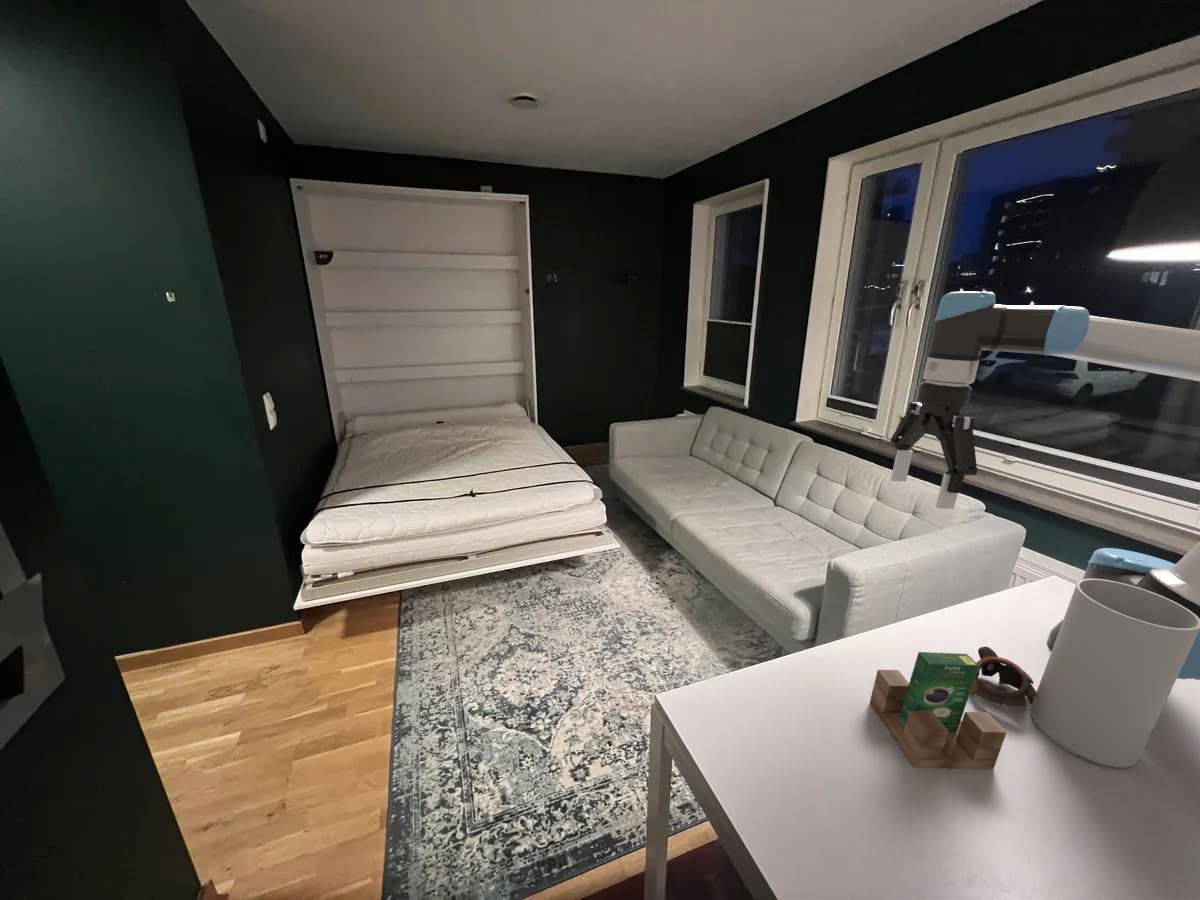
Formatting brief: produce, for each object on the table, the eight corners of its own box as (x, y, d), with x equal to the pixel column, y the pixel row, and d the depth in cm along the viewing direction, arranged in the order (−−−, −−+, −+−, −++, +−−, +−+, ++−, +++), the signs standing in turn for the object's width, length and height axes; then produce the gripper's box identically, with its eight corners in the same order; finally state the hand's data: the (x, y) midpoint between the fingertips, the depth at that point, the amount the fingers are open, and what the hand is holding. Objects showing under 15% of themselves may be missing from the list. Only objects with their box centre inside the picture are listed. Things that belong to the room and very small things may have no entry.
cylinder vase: (1135, 787, 68) (1205, 643, 61) (1023, 731, 77) (1072, 598, 70) (1136, 738, 76) (1198, 605, 69) (1035, 692, 85) (1080, 570, 78)
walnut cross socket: (938, 704, 82) (948, 671, 80) (993, 769, 71) (1006, 732, 69) (869, 702, 82) (877, 669, 80) (913, 767, 70) (924, 730, 68)
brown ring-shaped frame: (1052, 721, 80) (1051, 694, 76) (989, 731, 83) (985, 705, 79) (1005, 657, 90) (1002, 631, 86) (950, 668, 93) (945, 643, 89)
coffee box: (946, 718, 77) (967, 651, 74) (959, 733, 75) (981, 664, 71) (897, 716, 77) (915, 650, 74) (908, 732, 75) (927, 663, 71)
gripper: (885, 372, 96) (865, 470, 103) (979, 394, 73) (946, 521, 79) (921, 373, 96) (899, 471, 103) (1028, 396, 73) (990, 522, 79)
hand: (919, 493), depth 91 cm, fingers open, 13 cm apart
